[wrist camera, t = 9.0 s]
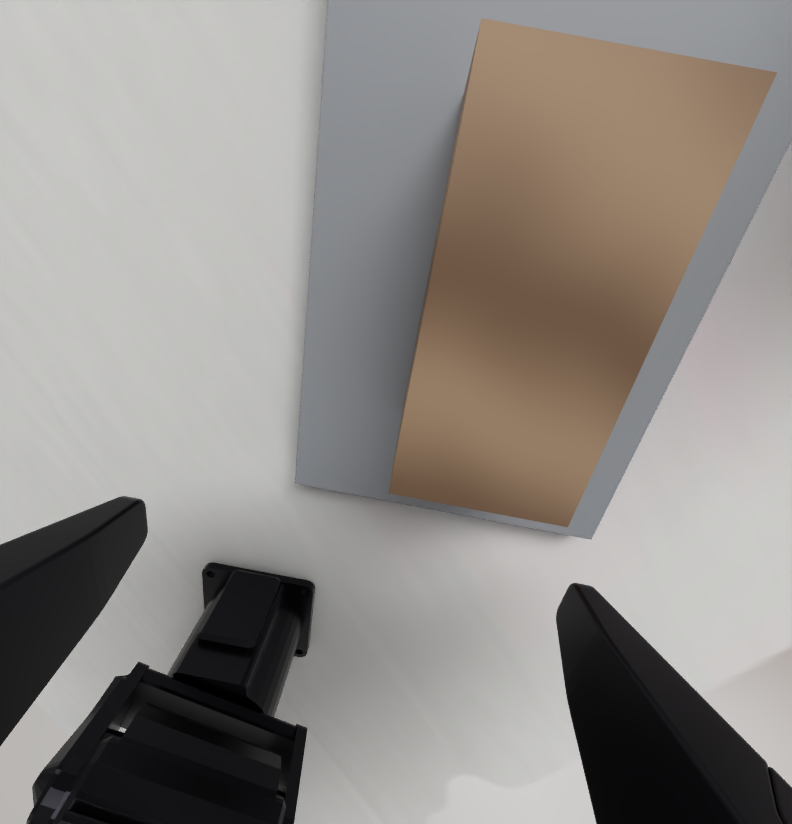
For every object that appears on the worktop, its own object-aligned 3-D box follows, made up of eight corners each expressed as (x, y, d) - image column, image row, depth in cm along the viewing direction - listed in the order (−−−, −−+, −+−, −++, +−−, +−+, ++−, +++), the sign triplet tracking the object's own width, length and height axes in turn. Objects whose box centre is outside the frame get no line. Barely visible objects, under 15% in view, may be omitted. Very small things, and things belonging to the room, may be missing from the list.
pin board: (581, 518, 21) (621, 603, 16) (304, 465, 21) (267, 536, 16) (837, -27, 12) (1088, -174, 7) (350, -115, 12) (296, -316, 7)
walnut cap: (529, 436, 17) (567, 527, 12) (402, 412, 17) (388, 493, 12) (641, 127, 12) (777, 72, 7) (463, 94, 12) (481, 18, 7)
